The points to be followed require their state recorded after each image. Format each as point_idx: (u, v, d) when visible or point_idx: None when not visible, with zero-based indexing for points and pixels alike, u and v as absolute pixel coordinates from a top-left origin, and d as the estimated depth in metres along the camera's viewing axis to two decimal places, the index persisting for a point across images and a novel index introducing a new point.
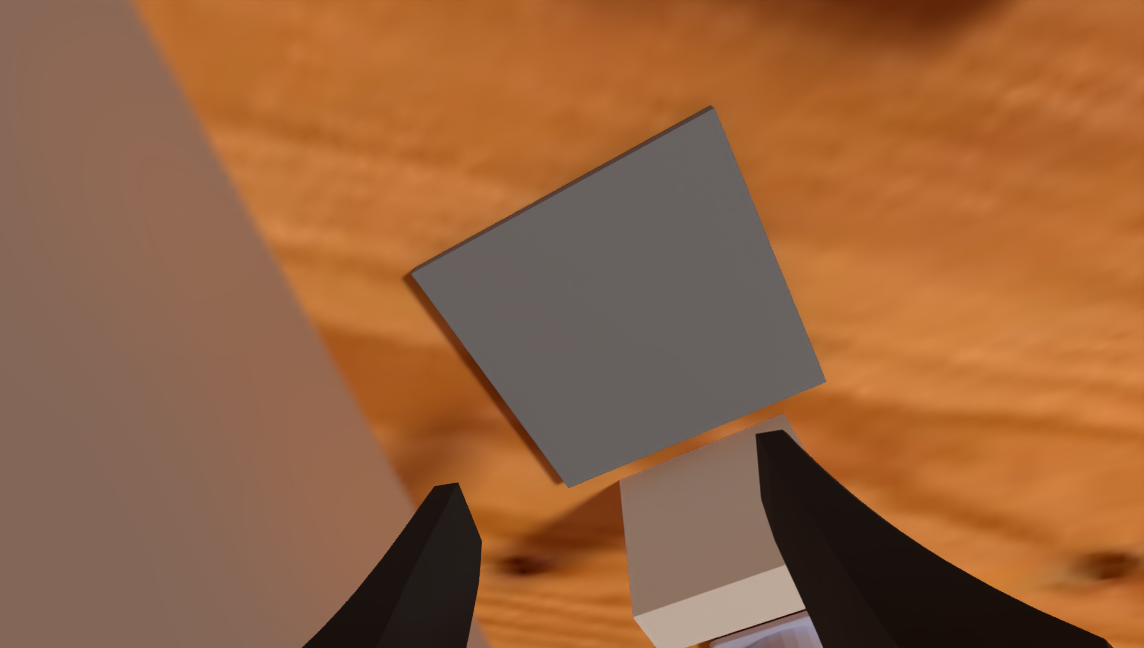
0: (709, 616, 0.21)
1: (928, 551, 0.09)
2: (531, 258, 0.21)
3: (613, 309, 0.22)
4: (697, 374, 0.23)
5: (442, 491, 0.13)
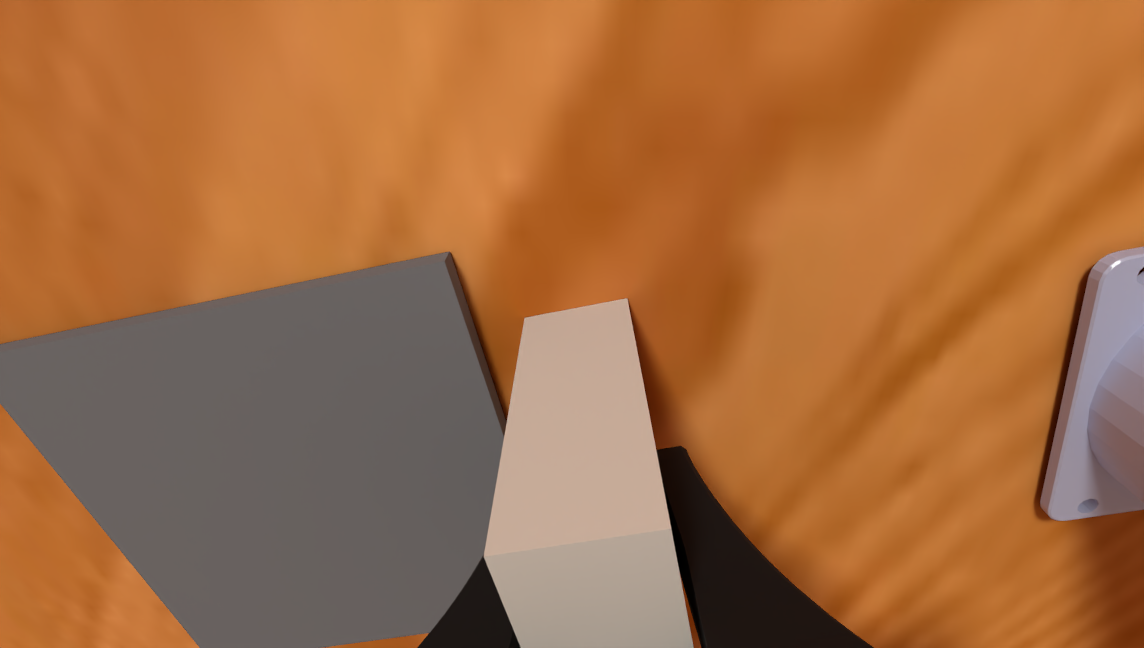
0: None
1: (776, 572, 0.09)
2: (191, 570, 0.17)
3: (269, 513, 0.16)
4: (393, 441, 0.15)
5: None
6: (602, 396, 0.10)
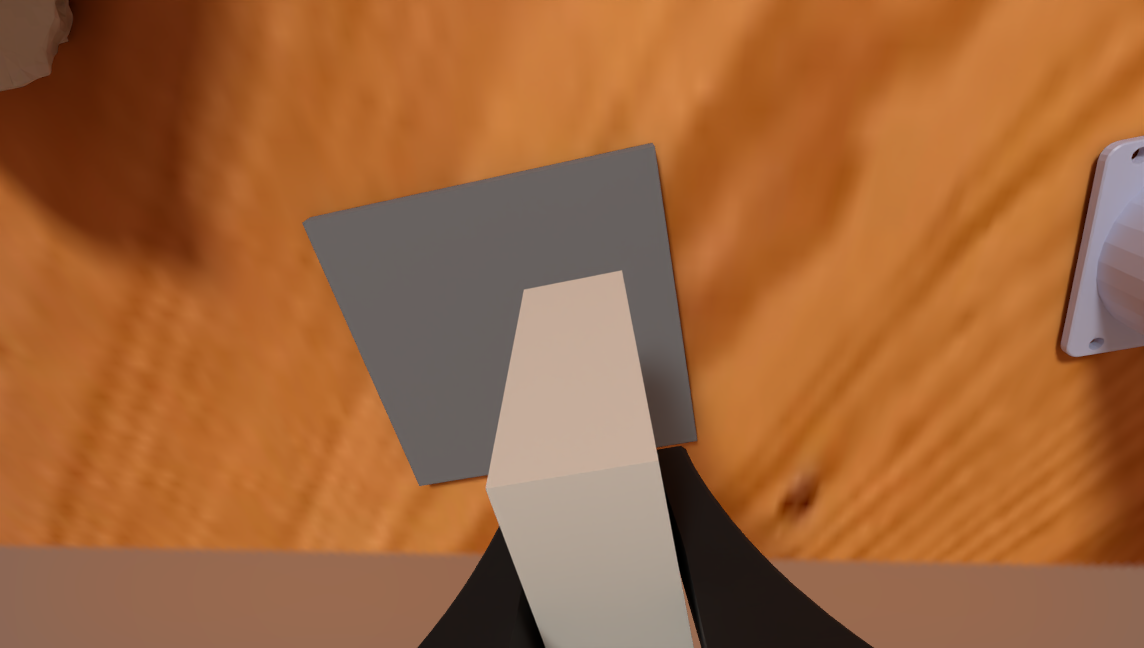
0: None
1: (775, 572, 0.09)
2: (423, 401, 0.23)
3: (491, 350, 0.22)
4: None
5: None
6: (596, 354, 0.11)
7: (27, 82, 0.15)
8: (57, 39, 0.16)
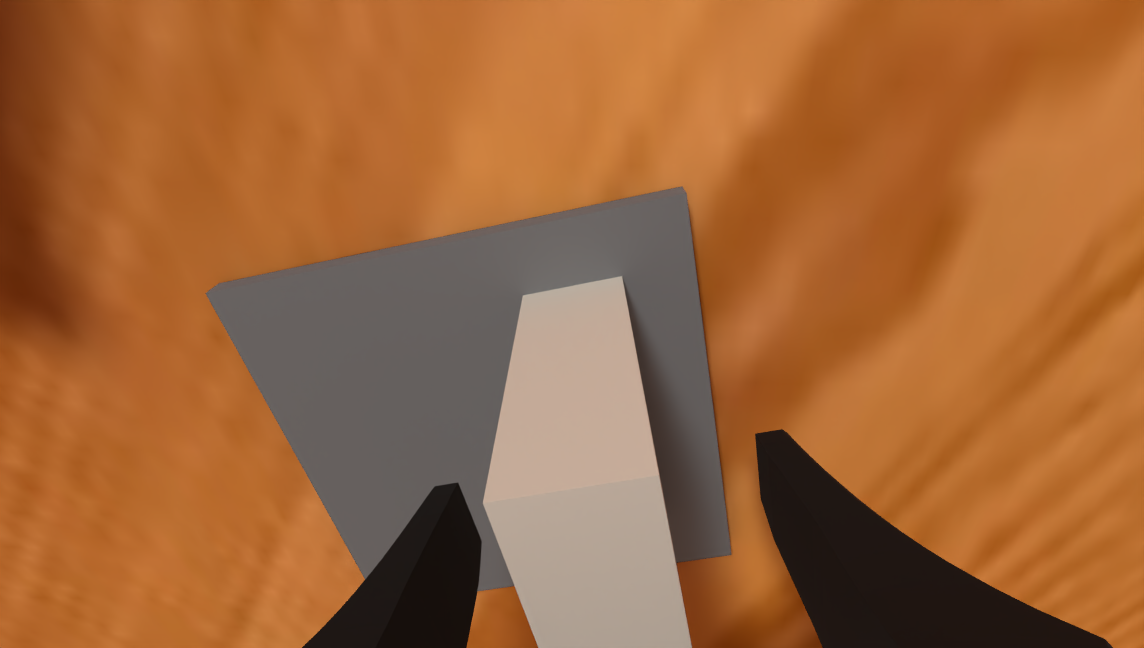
0: None
1: (928, 551, 0.09)
2: (379, 509, 0.18)
3: (466, 450, 0.17)
4: None
5: (442, 492, 0.13)
6: (596, 363, 0.11)
7: None
8: None
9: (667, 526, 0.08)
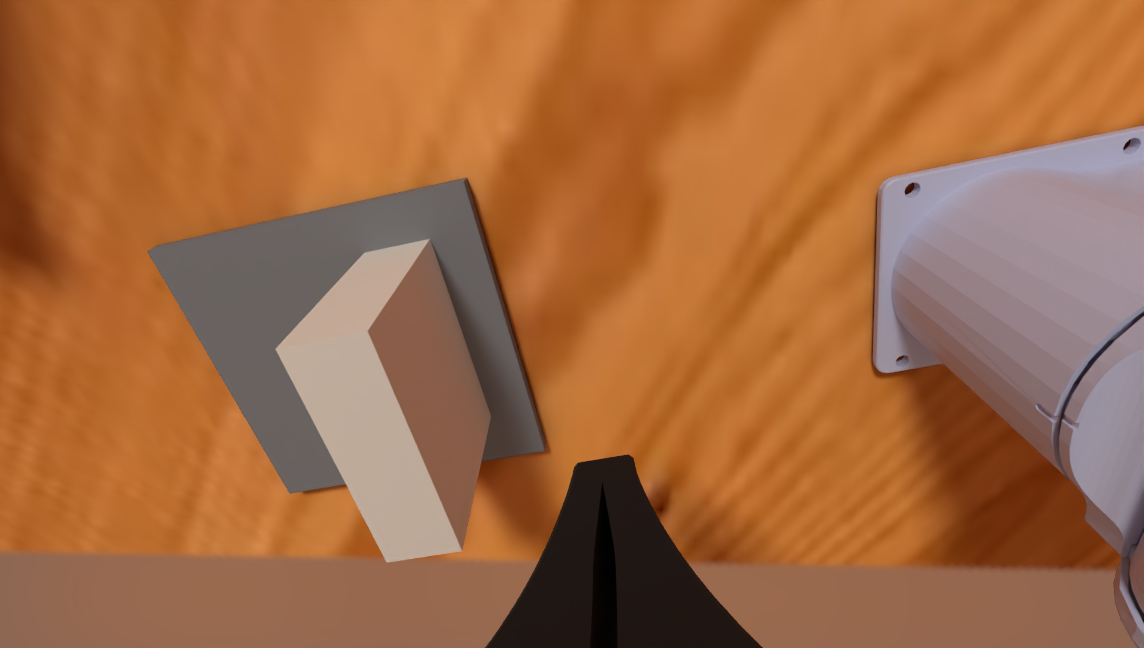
0: (398, 500, 0.17)
1: (697, 583, 0.09)
2: (281, 414, 0.24)
3: None
4: None
5: (590, 468, 0.13)
6: (377, 285, 0.17)
7: None
8: None
9: (381, 364, 0.15)
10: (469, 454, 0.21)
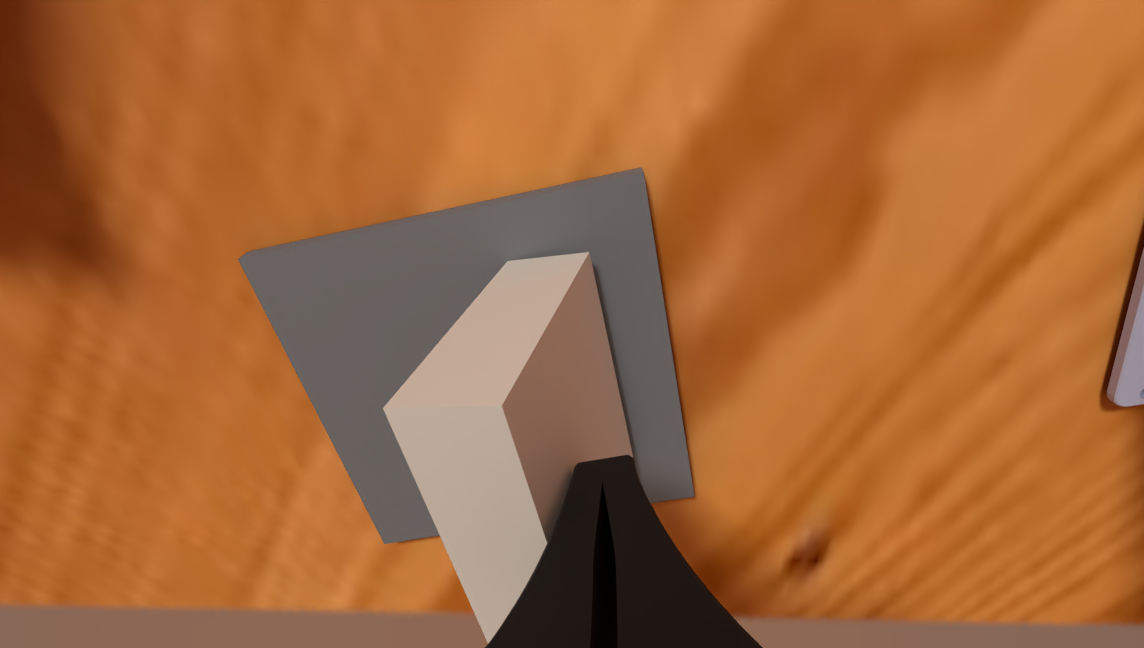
0: None
1: (697, 583, 0.09)
2: (384, 454, 0.20)
3: None
4: None
5: (590, 468, 0.13)
6: (520, 320, 0.13)
7: None
8: None
9: (515, 448, 0.11)
10: None
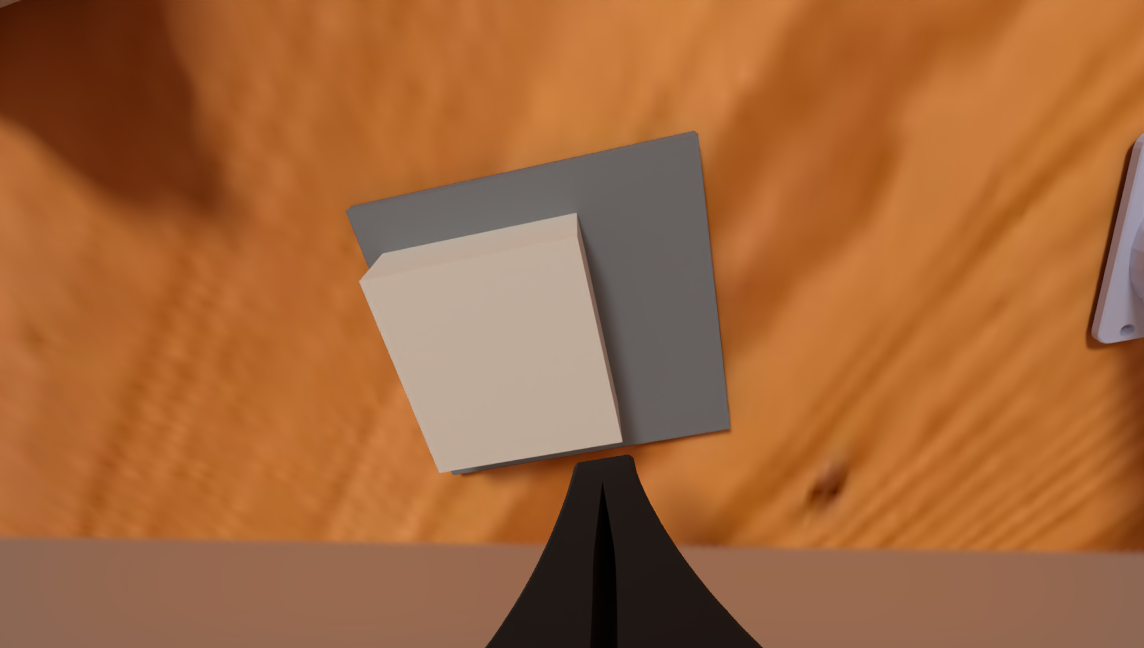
0: None
1: (697, 583, 0.09)
2: None
3: None
4: (633, 277, 0.21)
5: (590, 468, 0.13)
6: (460, 252, 0.18)
7: None
8: None
9: (371, 309, 0.19)
10: (517, 435, 0.21)
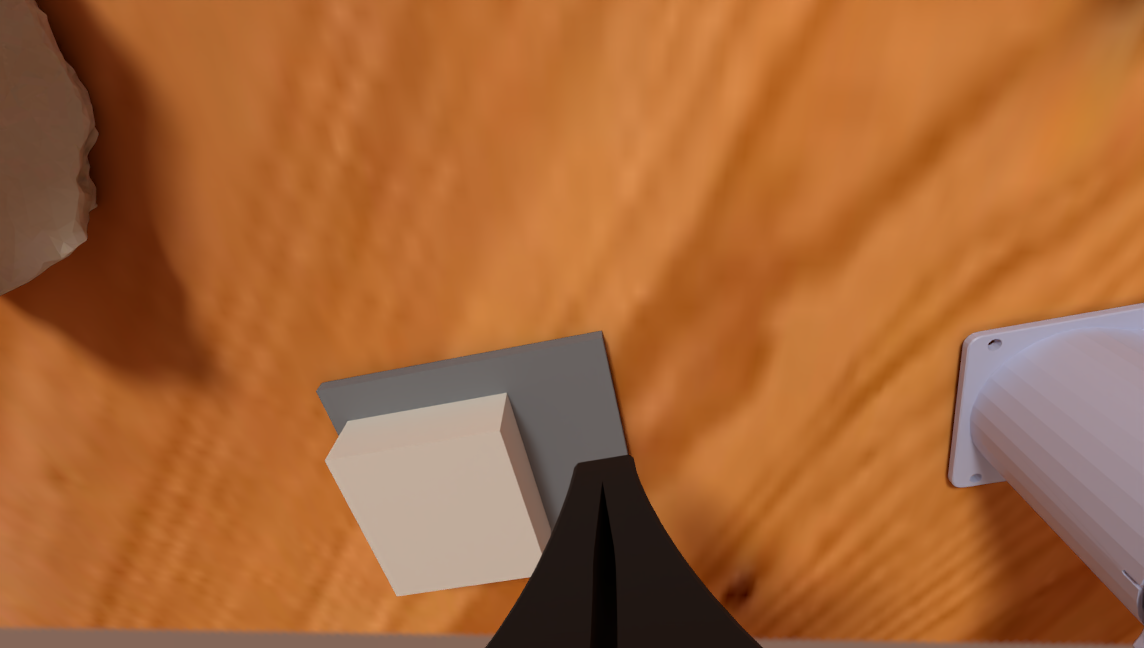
0: None
1: (697, 583, 0.09)
2: None
3: None
4: (557, 438, 0.25)
5: (590, 468, 0.13)
6: (408, 434, 0.23)
7: (71, 251, 0.18)
8: (86, 209, 0.19)
9: (335, 479, 0.23)
10: (461, 569, 0.25)
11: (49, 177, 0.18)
